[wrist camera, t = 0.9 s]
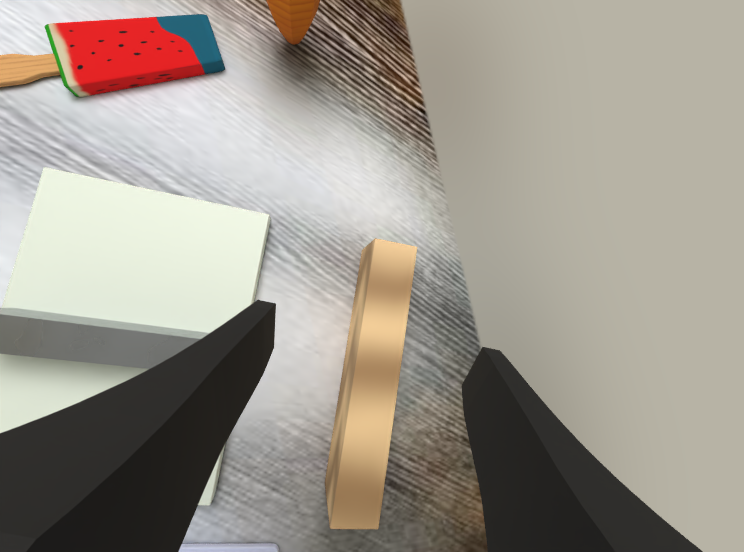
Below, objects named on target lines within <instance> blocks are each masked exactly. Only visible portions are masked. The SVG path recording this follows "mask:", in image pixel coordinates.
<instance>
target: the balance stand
mask: <svg viewBox="0 0 744 552" xmlns="http://www.w3.org/2000/svg"><path fill="white" fill-rule="evenodd" d="M270 220H271V218H270V216H269V214H264V213H259V212H254V211H250V210H245V209H240V208H235V207H231V206H226V205H221V204H216V203H212V202H207V201H202V200H197V199H193V198H188V197H183V196H178V195H174V194H169V193H164V192H159V191H155V190H150V189H145V188H140V187H136V186H131V185H126V184H121V183H117V182H112V181H107V180H102V179H98V178H93V177H88V176H83V175H79V174H74V173H69V172H64V171H60V170H55V169H50V168H45V167H44V169H43V172H42V175H41V179H40V182H39V185H38V189H37V192H36V195H35V199H34V202H33V205H32V208H31V212H30V215H29V218H28V222H27V225H26V228H25V232H24V235H23V238H22V242H21V245H20V248H19V252H18V255H17V258H16V261H15V265H14V268H13V271H12V275H11V278H10V281H9V285H8V288H7V291H6V295H5V298H4V301H3V305H2V308H0V433H2V432H5V431H8V430H10V429H13V428H16V427H18V426H21V425H24V424H26V423H29V422H31V421H34V420H37V419H39V418H42V417H44V416H47V415H49V414H52V413H54V412H57V411H59V410H62V409H64V408H66V407H69V406H71V405H74V404H76V403H78V402H81V401H83V400H85V399H87V398H90V397H92V396H94V395H96V394H98V393H101V392H103V391H105V390H107V389H109V388H112V387H114V386H116V385H118V384H120V383H123V382H125V381H127V380H129V379H131V378H133V377H135V376H137V375H139V374H141V373H143V372H145V371H147V370H148V369H150V368H152V367H154V366H156V365H158V364H160V363H161V362H163V361H165V360H167V359H169V358H170V357H172V356H174V355H175V354H177V353H179V352H180V351H182V350H184V349H185V348H187V347H189V346H190V345H192V344H194V343H195V342H197V341H198V340H200V339H202V338H203V337H205V336H206V335H208V334H209V333H211V332H212V331H214V330H215V329H217V328H218V327H220V326H221V325H223V324H224V323H226V322H227V321H228V320H230V319H231V318H233V317H234V316H236V315H237V314H238V313H240V312H241V311H243V310H244V309H245V308H247V307H248V306H250V305H251V304H252V303H254V299H255V294H256V290H257V285H258V280H259V275H260V270H261V265H262V260H263V255H264V250H265V245H266V240H267V235H268V230H269V225H270ZM224 448H225V445H224V447H223V449H222V451H221V453H220V455H219V458H218V460H217V462H216V464H215V467H214V469H213V471H212V474H211V476H210V478H209V480H208V483H207V485H206V487H205V489H204V492H203V494H202V497H201V499H200V501H199V504H198V505H210V504H211V502H212V500H213V498H214V495H215V492H216V487H217V482H218V477H219V472H220V467H221V462H222V457H223V453H224Z"/></svg>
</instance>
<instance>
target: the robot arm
mask: <svg viewBox="0 0 744 552" xmlns="http://www.w3.org/2000/svg"><path fill="white" fill-rule="evenodd" d="M275 311H276V304H275V303H270V302H265V301H260V300H257V301H255V302H254V303H252V304H251V305H250V306H248V307H247V308H245V309H244V310H243V311H241V312H240V313H238V314H237V315H236V316H234V317H233V318H231V319H230V320H228V321H227V322H226V323H224V324H223V325H221V326H220V327H218V328H217V329H215V330H214V331H212V332H211V333H209V334H208V335H206V336H205V337H203V338H202V339H200V340H198V341H197V342H195V343H194V344H192V345H190V346H189V347H187V348H185V349H184V350H182V351H180V352H179V353H177V354H175V355H174V356H172V357H170V358H169V359H167V360H165V361H163V362H161V363H160V364H158V365H156V366H154V367H152V368H150V369H148V370H147V371H145V372H143V373H141V374H139V375H137V376H135V377H133V378H131V379H129V380H127V381H125V382H123V383H120V384H118V385H116V386H114V387H112V388H109V389H107V390H105V391H103V392H101V393H98V394H96V395H94V396H92V397H90V398H87V399H85V400H83V401H81V402H78V403H76V404H74V405H71V406H69V407H66V408H64V409H62V410H59V411H57V412H54V413H52V414H49V415H47V416H44V417H42V418H39V419H37V420H34V421H31V422H29V423H26V424H24V425H21V426H18V427H16V428H13V429H10V430H8V431H5V432H2V433H0V552H279V547H278V546H277V545H276V544H273V543H254V544H182V542H183V539H184V537H185V535H186V532H187V530H188V527H189V525H190V522H191V520H192V518H193V515H194V513H195V511H196V508H197V506H198V504H199V501H200V499H201V497H202V494H203V492H204V489H205V487H206V485H207V483H208V480H209V478H210V476H211V474H212V471H213V469H214V467H215V464H216V462H217V460H218V458H219V455H220V453H221V451H222V449H223V447H224V445H225V443H226V441H227V439H228V437H229V435H230V434H231V432H232V430H233V428H234V426H235V425H236V423H237V421H238V419H239V417H240V415H241V414H242V412H243V410H244V408H245V406H246V405H247V403H248V401H249V399H250V397H251V396H252V394H253V392H254V390H255V388H256V386H257V385H258V383H259V381H260V379H261V377H262V375H263V373H264V371H265V368H266V366H267V364H268V361H269V359H270V356H271V354H272V351H273V349H274V334H275ZM462 398H463V409H464V417H465V422H466V427H467V432H468V436H469V441H470V446H471V450H472V455H473V459H474V464H475V468H476V473H477V478H478V482H479V487H480V493H481V498H482V505H483V513H484V521H485V529H486V537H487V547H488V552H702V551H701V550H700V549H699V548H698V547H696V546H695V545H694V544H692V543H691V542H690V541H689V540H688V539H686V538H685V537H684V536H683V535H681V534H680V533H679V532H678V531H677V530H675V529H674V528H673V527H671V525H669V524H668V523H667V522H666V521H665V520H663V519H662V518H661V517H660V516H659V515H657V514H656V513H655V512H654V511H653V510H652V509H651V508H649V507H648V506H647V505H646V504H645V503H644V502H643V501H641V500H640V499H639V498H638V497H637V496H636V495H635V494H633V493H632V492H631V491H630V490H629V489H628V488H627V487H626V486H625V485H623V484H622V483H621V482H620V481H619V480H618V479H617V478H616V477H615V476H614V475H613V474H612V473H611V472H610V471H609V470H607V468H605V467H604V466H603V465H602V464H601V463H600V462H599V461H598V460H597V459H596V458H595V457H594V456H593V455H592V454H591V453H590V452H589V451H588V450H587V449H586V448H585V447H584V446H583V445H582V444H581V443H580V442H579V441H578V440H577V439H576V438H575V436H574V435H573V434H572V433H571V432H570V431H569V430H568V429H567V428H566V427H565V426H564V425H563V424H562V422H560V420H559V419H558V418H557V417H556V416H555V415H554V414H553V413H552V411H551V410H550V409H549V408H548V407H547V406H546V404H545V403H544V402H543V401H542V400H541V399H540V397H539V396H538V395H537V394H536V393H535V392H534V390H533V389H532V388H531V387H530V386H529V385H528V383H527V382H526V381H525V380H524V378H523V377H522V376H521V375H520V374H519V372H518V371H517V370H516V369H515V368H514V366H513V365H512V364H511V363H510V362H509V360H508V359H507V358H506V357H505V356H504V355H503V354H502V352H501V351H500V350H495V349H490V348H485V347H482V349H481V351H480V353H479V355H478V356H477V358H476V360H475V362H474V364H473V366H472V368H471V369H470V371H469V373H468V375H467V377H466V379H465V381H464V382H463V384H462Z"/></svg>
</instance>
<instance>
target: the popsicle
mask: <svg viewBox="0 0 744 552" xmlns="http://www.w3.org/2000/svg"><path fill="white" fill-rule="evenodd" d="M45 29H46V32H47V35H48V38H49V41H50V44H51V47H52V50H53V53H54V54H45V55H36V56H32V55H20V54H7V55H0V87H4V86H12V85H19V84H26V83H29V82H32V81H35V80H38V79H40V78H43V77H49V76H56V75H61V78H62V81H63V84H64V86H65V87H66V88H67V89H68V90H70V91H71V92H72V93H73V94H74V95H75V96H77V97H84V96H89V95H95V94H100V93H106V92H111V91H117V90H122V89H128V88H133V87H138V86H144V85H149V84H155V83H160V82H166V81H171V80H177V79H182V78H188V77H193V76H199V75H204V74H210V73H215V72H220V71H223V70H225V66H224V63H223V60H222V57H221V54H220V52H219V49H218V46H217V43H216V40H215V37H214V34H213V31H212V28H211V25H210V22H209V19H208V16H207V15H203V14H197V15H181V16H165V17H149V18H133V19H116V20H100V21H84V22H68V23H52V24H47V25H45Z"/></svg>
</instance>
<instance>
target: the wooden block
mask: <svg viewBox="0 0 744 552" xmlns="http://www.w3.org/2000/svg"><path fill="white" fill-rule="evenodd" d="M416 252H417V247H415V246H410V245H405V244H400V243H395V242H390V241H386V240H381V239H376V238H375V239H374V240H373V241H372V242H371V243H370V244H368V245H367V246H366V247H365V248H364V249H363V250H362V254H361V260H360V266H359V272H358V278H357V285H356V291H355V297H354V303H353V310H352V316H351V322H350V328H349V335H348V341H347V347H346V353H345V360H344V366H343V372H342V378H341V385H340V391H339V397H338V403H337V409H336V416H335V422H334V428H333V434H332V441H331V447H330V453H329V459H328V466H327V472H326V478H325V489H326V497H327V506H328V515H329V524H330V529H378V527H379V519H380V512H381V505H382V498H383V491H384V483H385V476H386V469H387V462H388V454H389V447H390V440H391V433H392V426H393V418H394V411H395V404H396V397H397V389H398V382H399V375H400V368H401V361H402V353H403V346H404V339H405V332H406V324H407V317H408V310H409V303H410V296H411V288H412V281H413V274H414V267H415V259H416Z"/></svg>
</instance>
